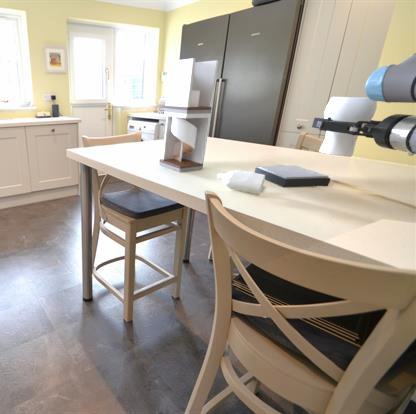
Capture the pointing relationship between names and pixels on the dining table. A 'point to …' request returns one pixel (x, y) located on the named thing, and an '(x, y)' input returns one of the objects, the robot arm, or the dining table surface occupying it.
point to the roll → (243, 181)
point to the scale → (292, 176)
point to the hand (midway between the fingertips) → (334, 122)
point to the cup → (347, 112)
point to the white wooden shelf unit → (188, 113)
